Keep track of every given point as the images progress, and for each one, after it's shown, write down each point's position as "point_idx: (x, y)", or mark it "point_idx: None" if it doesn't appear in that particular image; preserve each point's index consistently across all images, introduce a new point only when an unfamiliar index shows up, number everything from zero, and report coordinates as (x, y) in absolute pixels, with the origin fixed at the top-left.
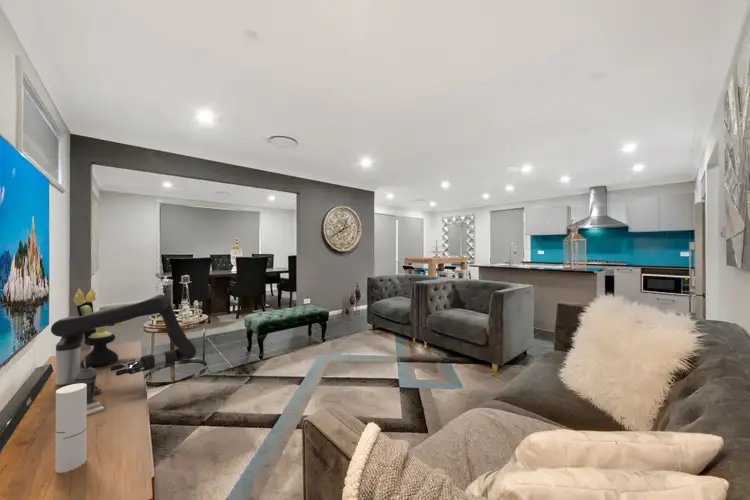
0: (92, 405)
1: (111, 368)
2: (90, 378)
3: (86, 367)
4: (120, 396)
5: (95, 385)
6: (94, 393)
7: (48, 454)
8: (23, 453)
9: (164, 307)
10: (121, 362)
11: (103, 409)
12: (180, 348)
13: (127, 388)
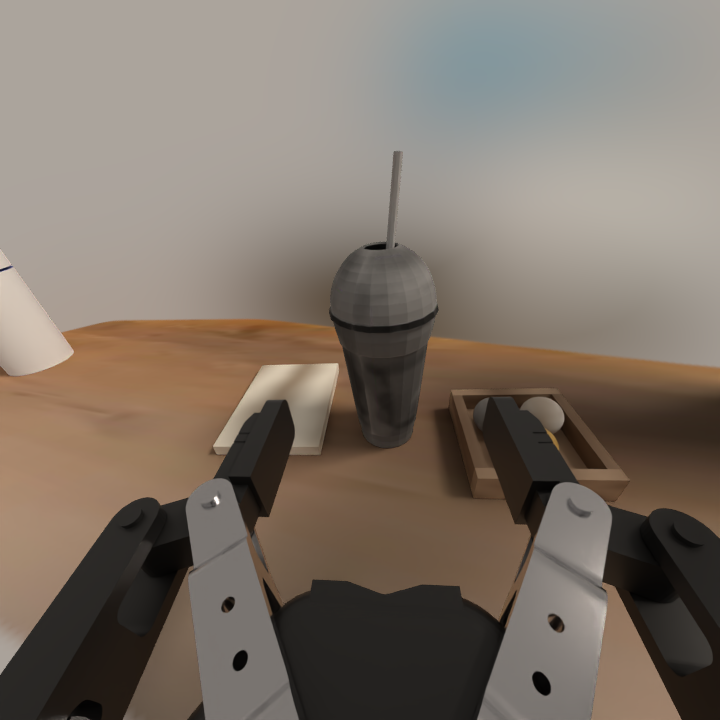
0: None
1: (488, 413)
2: (330, 315)
3: (397, 246)
4: (298, 567)
5: (573, 469)
6: (466, 462)
7: (142, 346)
8: (205, 329)
9: None
10: (679, 523)
11: (217, 451)
12: None
13: None
